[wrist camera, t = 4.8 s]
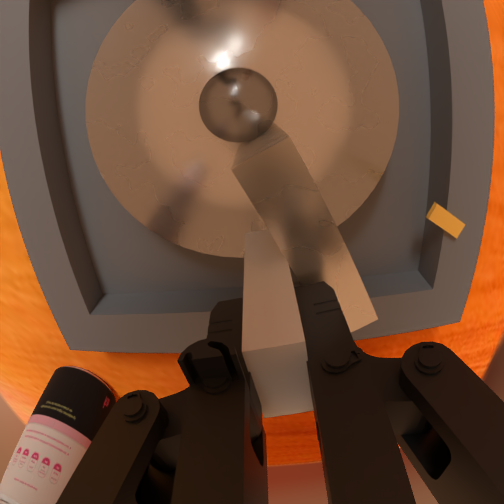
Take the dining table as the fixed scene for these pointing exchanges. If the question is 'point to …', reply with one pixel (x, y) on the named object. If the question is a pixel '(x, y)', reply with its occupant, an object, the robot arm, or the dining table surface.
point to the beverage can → (56, 437)
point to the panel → (232, 268)
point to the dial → (247, 127)
